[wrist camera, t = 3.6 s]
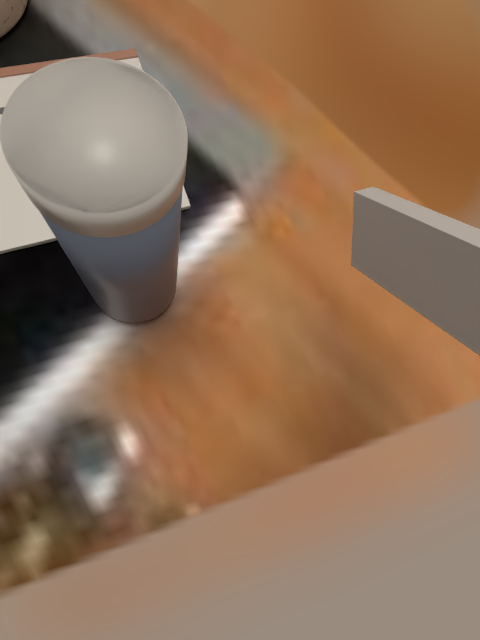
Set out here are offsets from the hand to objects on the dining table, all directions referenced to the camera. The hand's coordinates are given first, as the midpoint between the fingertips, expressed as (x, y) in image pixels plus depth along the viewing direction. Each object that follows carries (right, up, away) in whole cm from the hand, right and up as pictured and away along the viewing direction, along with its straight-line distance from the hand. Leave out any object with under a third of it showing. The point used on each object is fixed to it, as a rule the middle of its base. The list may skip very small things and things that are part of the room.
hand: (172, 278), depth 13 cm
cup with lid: (-3, 0, +8) cm, 9 cm away
